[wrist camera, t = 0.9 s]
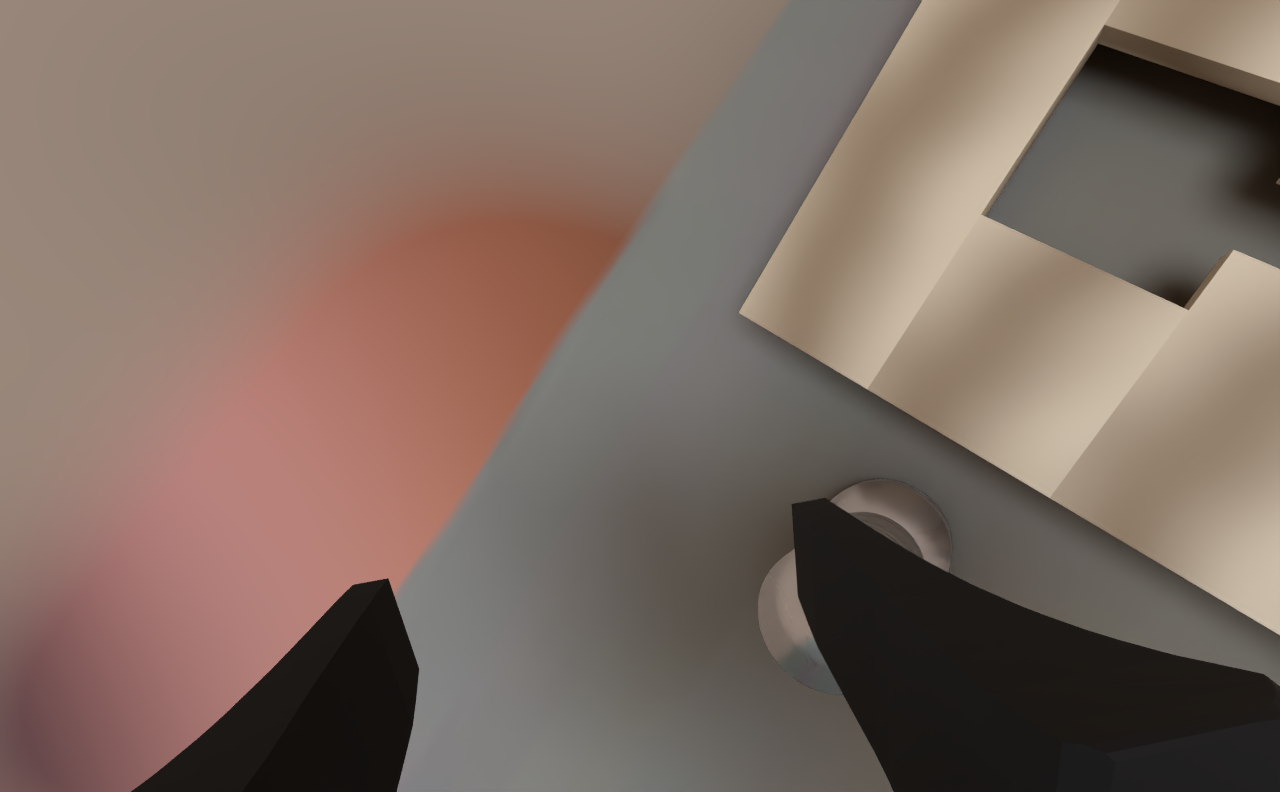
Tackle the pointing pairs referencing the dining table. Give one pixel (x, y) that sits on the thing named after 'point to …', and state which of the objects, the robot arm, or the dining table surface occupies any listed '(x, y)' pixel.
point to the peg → (887, 512)
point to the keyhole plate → (1048, 288)
